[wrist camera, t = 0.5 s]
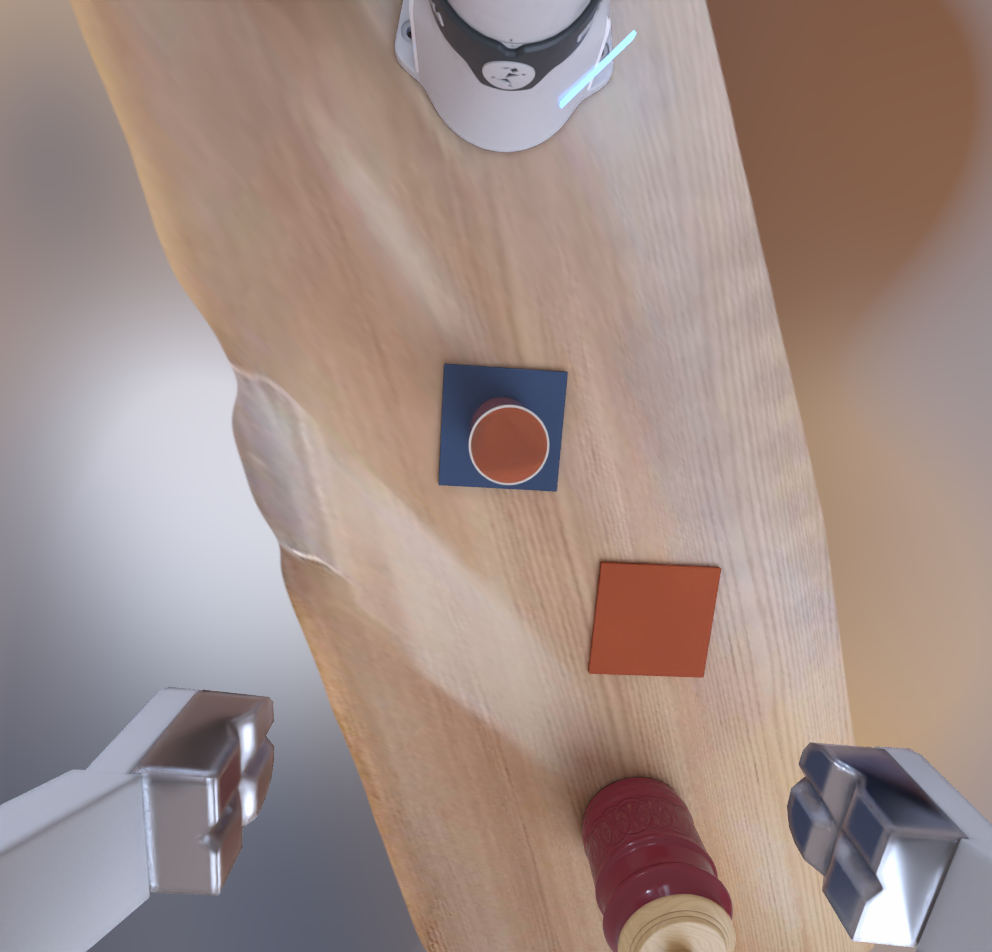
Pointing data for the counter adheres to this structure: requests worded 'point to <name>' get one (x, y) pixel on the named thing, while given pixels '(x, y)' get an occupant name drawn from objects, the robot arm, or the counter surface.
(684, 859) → the kitchen canister
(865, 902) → the robot arm
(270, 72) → the counter surface
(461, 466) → the blue mat
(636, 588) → the terracotta mat
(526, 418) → the tumbler
